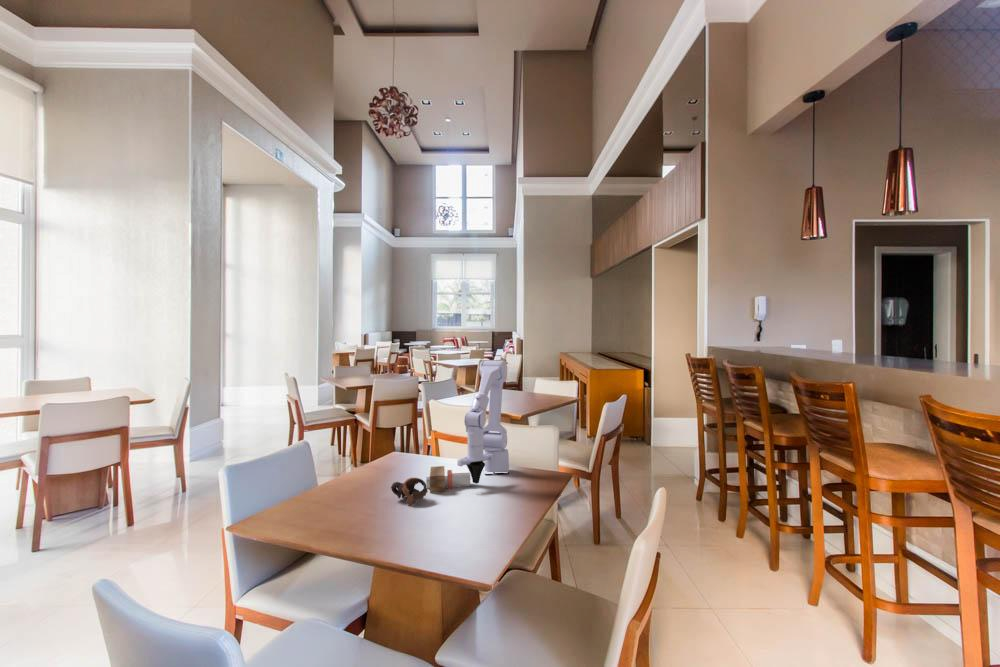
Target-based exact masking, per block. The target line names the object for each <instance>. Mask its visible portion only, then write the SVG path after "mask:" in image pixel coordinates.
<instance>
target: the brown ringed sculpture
mask: <svg viewBox="0 0 1000 667" xmlns="http://www.w3.org/2000/svg"><path fill="white" fill-rule="evenodd" d="M417 484H420V485H422V487H423V489H422V490H419V489H417V488H415V486H416V485H417ZM390 490H391V491H392V493H393V494H394V495H396V496H397V498H398V499H401V498H402V499H403V497H404V498H405V497H407V498H406V503H405V504H406V505H408V506H411V505H412V504H413V503H415V502H418V501H420V500H423V499H424V497H426V495H427V493H429V492H428V489H427V487H426V482H425V480H423V479H422V478H419V477H410V478H407V479H406V480H405V481H404V482H399V481H394V482H393V483H392V484H391V486H390Z"/></svg>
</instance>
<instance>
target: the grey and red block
mask: <svg viewBox="0 0 1000 667" xmlns="http://www.w3.org/2000/svg"><path fill="white" fill-rule="evenodd" d="M446 474H447V475H445V487H448V488H450V489H453V488H459V487H458V486H470V487H471V473H470V472H455V473H453V469H447V473H446ZM425 483H426V488H430V476H427V477H426V482H425ZM448 488H447V489H448Z"/></svg>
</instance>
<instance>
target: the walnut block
mask: <svg viewBox="0 0 1000 667" xmlns="http://www.w3.org/2000/svg"><path fill="white" fill-rule="evenodd" d="M445 470H446V469H445V466H444V465H442V466H441V465H440V466H430V471H429V472H430V473H429V477H430V489H429V494H433V493H432V492H443V493H445V491H446V488H445V476H446V474H445V472H446V471H445Z"/></svg>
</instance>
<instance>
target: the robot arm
mask: <svg viewBox="0 0 1000 667" xmlns="http://www.w3.org/2000/svg"><path fill="white" fill-rule="evenodd" d="M479 375H480V377H481V379H480V382H479V383H480V384H479V388H478V392H477V393H476V394H474V396H473V400H472V402H471V405H470V409H469V411H468V412H465V416H464V426H465V432H466V434H467V438H466V439H467V455H466V457H463V458H460V459H457V466H458V467H463V466H466V468H467V469H468V471H469V473H470V478H471V480H472V483H473V484H479V483H480V478H481V476H482V472H483V471H484V470H483V468H485V471H487V472H493V473H495V472H509V473H510V464H509V463H510V460H509V456H510V455H509V450H508V449H507V448H506V447H507V446H508V434H507V433H508V430H507V429H506V428H505V427H504V426H503V425H502V424H501V421H502V420H501V417H502V403H503V402H502V399H503V385H504V383H505V382H507V380H508V365H507V362H506V360H486V359H482V360H481V362H480V363H479ZM488 395H489V397H488ZM488 405H489V406H488ZM487 409H488V416H487ZM487 417H488V420H487Z"/></svg>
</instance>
